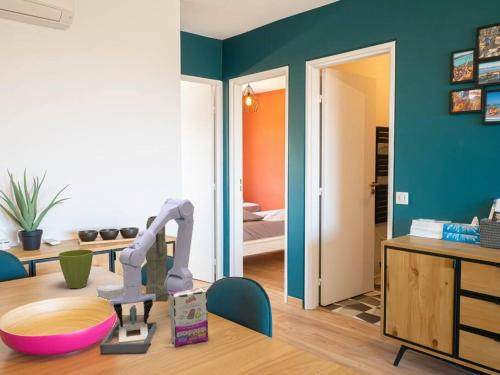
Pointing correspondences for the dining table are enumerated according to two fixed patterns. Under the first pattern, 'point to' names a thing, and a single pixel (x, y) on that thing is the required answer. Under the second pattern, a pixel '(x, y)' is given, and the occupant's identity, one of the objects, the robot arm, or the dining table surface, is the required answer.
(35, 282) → the dining table surface
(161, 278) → the stone pillar statue
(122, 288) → the ramekin
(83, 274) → the flower pot
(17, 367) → the dining table surface
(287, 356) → the dining table surface
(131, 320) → the metal T-head stake
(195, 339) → the candy bar box
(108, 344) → the charcoal tray
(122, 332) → the cream ring
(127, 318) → the walnut plate
